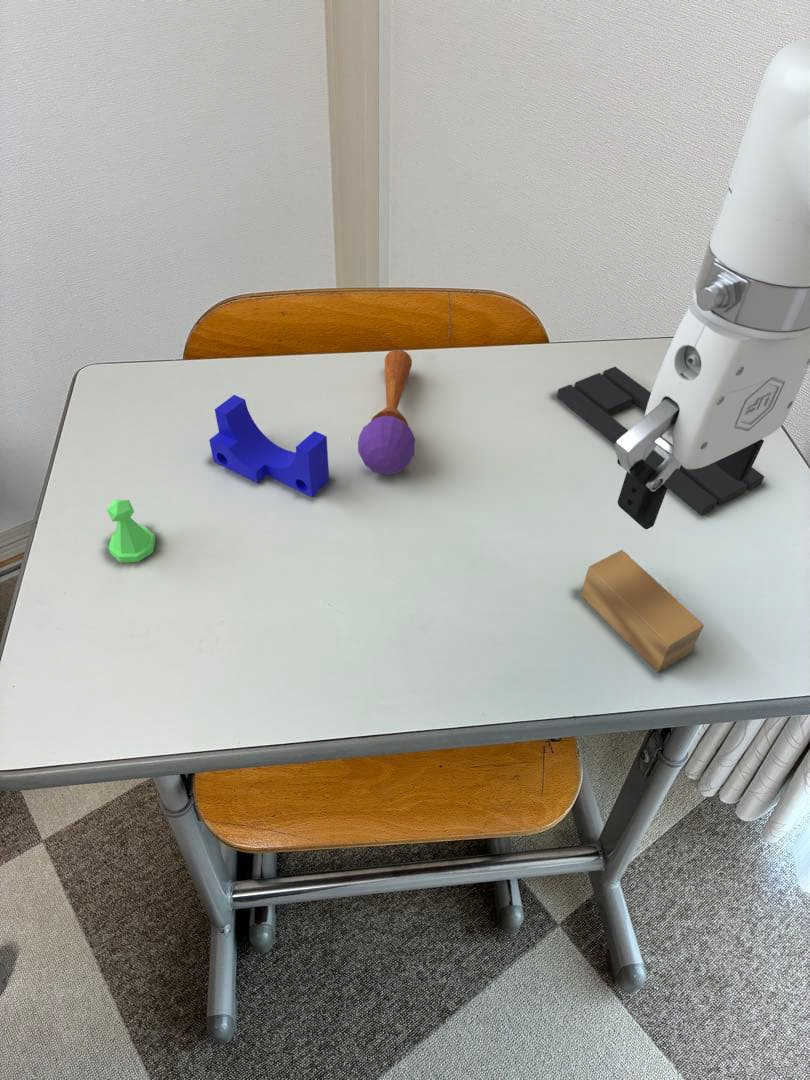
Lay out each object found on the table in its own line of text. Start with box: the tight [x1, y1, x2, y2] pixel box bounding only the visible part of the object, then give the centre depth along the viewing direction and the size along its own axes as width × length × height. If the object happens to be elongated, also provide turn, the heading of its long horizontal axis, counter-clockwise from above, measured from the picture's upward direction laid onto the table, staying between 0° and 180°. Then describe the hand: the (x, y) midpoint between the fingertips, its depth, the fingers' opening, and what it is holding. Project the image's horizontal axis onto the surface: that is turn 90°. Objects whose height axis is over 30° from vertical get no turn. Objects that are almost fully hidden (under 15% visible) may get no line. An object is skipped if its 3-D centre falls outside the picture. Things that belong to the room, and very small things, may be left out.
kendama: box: [357, 349, 416, 475], centre depth 88 cm, size 6×6×20 cm
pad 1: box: [556, 366, 652, 445], centre depth 92 cm, size 11×9×1 cm
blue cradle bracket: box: [208, 394, 330, 498], centre depth 82 cm, size 12×4×6 cm, turn 58°
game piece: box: [106, 499, 157, 563], centre depth 74 cm, size 4×4×6 cm
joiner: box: [580, 549, 705, 673], centre depth 70 cm, size 10×4×4 cm, turn 33°
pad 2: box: [644, 449, 765, 516], centre depth 85 cm, size 11×9×1 cm
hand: (682, 492), depth 60 cm, fingers open, 9 cm apart
